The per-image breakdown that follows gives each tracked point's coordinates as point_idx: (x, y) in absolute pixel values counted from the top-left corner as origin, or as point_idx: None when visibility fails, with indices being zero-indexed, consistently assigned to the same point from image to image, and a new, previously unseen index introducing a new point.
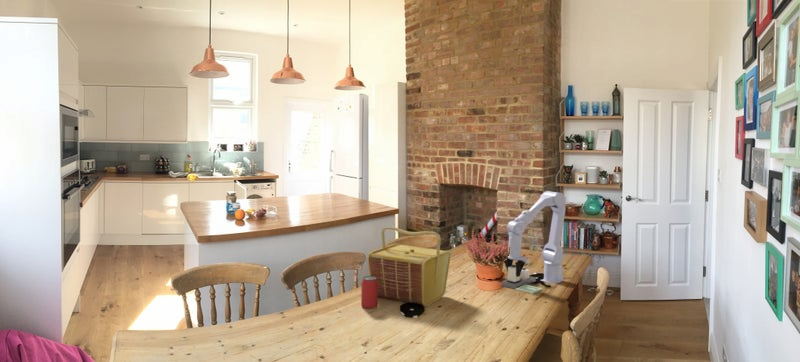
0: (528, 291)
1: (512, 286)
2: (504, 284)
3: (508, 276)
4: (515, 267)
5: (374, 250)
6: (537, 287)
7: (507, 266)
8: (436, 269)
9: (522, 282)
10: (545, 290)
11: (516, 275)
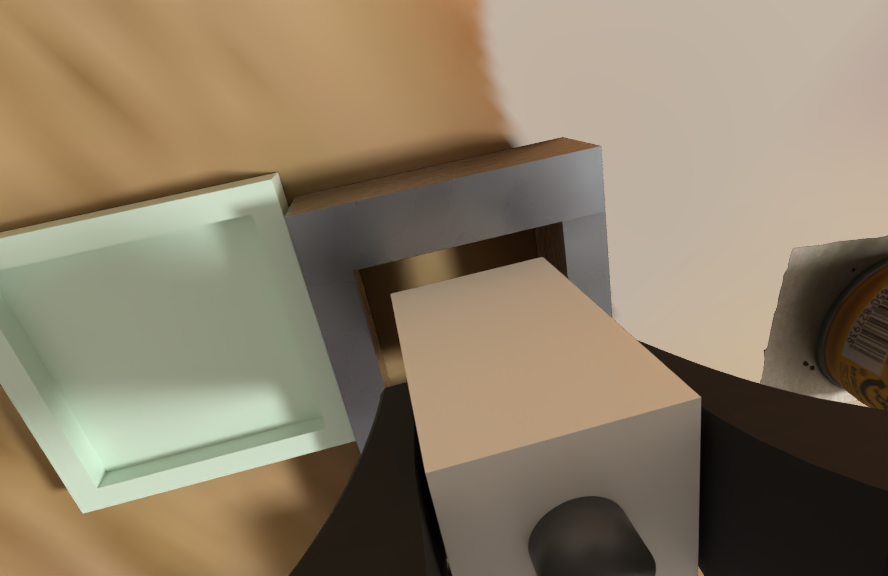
0: (7, 237)
1: (360, 191)
2: (517, 156)
3: (554, 287)
4: (514, 539)
5: None
6: (149, 491)
7: (735, 409)
8: None
9: (351, 412)
10: (102, 535)
11: (406, 389)
